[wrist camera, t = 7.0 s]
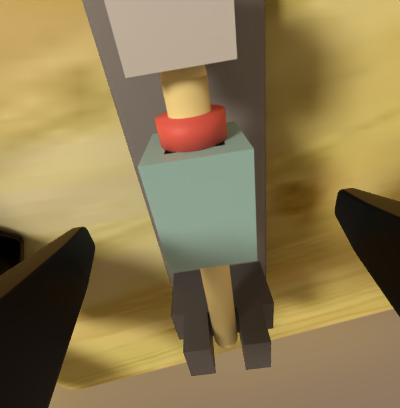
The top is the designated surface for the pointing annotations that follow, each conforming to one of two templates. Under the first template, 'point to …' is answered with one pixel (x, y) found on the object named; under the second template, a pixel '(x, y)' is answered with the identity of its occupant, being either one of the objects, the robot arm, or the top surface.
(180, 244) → the sleeve
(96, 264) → the top surface
